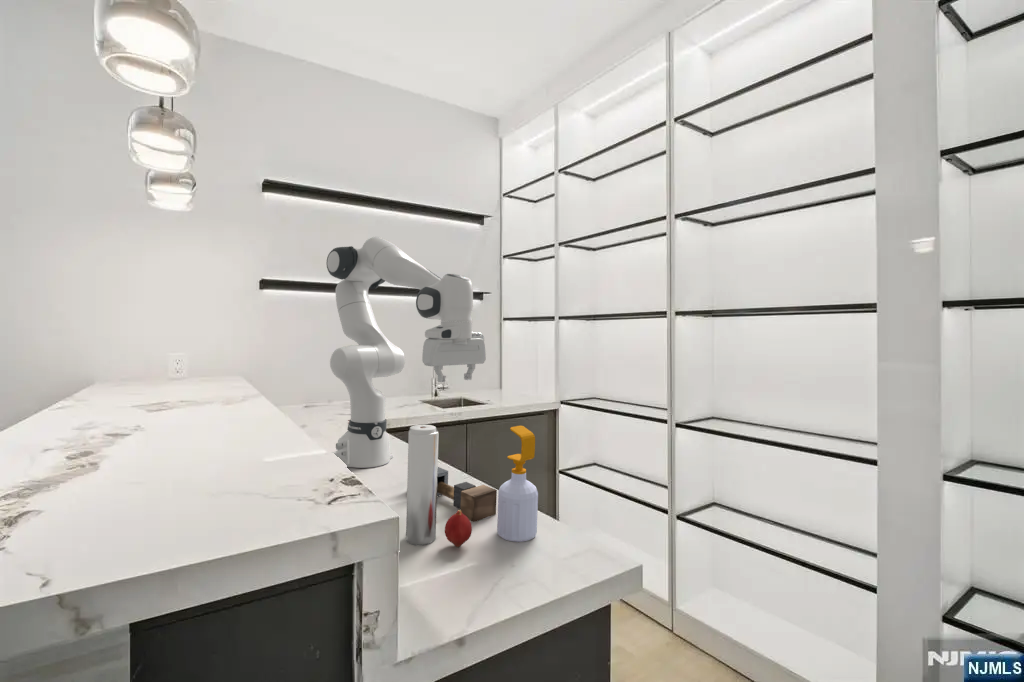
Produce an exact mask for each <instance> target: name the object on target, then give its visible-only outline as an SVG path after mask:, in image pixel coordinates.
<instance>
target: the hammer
mask: <svg viewBox="0 0 1024 682" xmlns="http://www.w3.org/2000/svg"><path fill="white" fill-rule="evenodd" d="M474 487H477V485H475V484H473V483H470V482H468V481H465V482H464V481H463V482H461V483H457V484H454V485H453V486H452V485H450V484H449V483H448V484H446V483H444V482H439V483H438V484H437V492H438V493H440V494H442V495H441V496H444V497H446V498H449V499H451V500H452V501H453V507H455V508H456V509H458V510H461V491H464V490H467V489H470V488H474Z"/></svg>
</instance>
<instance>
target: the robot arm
mask: <svg viewBox="0 0 1024 682" xmlns="http://www.w3.org/2000/svg"><path fill="white" fill-rule="evenodd" d="M326 268H327V271H328V274H329V275H330V276H332V277H333V278H336V279H338V280H341V281H340V282H338V283H337V285H336V287H335V301H336V307H337V313H338V317H339V320H340V324H341V328H342V329H341V330H342V331H343V333H344V335H345V336H346V337H347V338H349V339H351V340H352V341H354V342H355V343H356V344H354V345H352V344H351V345H347V346H343V347H338V348H336V349H335V350H334V351H333V352H332V353H331V356H330V360H329V366H330V370H331V372H332V373H333V375H334V376H335V377H336V378H338V379H339V380H340V381H341V382H342V383H343V384H344V386H345V387H346V389H347V393H348V395H349V402H350V419H348V420H347V429H346V431H345V433H344V434H343V435H342V436H341V437H339V438H338V440H337V442H336V444H335V451H332V452H331V453H334V454H335V455H336V456H337V457H339V458H340V459H341V460H342V461H343V462H344V463H345V464H346V465H347V467H346V468H357V469H360V468H362V469H363V468H365V469H367V468H376V467H380V466H383V465H386V464H388V463H390V460H391V459H392V458H394V454H393V453H391V447H390V434H389V433H388V432H387V426H388V423H387V418H386V405H387V404H386V402H387V399H386V396H385V394H384V393H383V392H382V391H380V390H379V389H377V388H375V387H374V385H373V379H374V378H387V377H391V376H395V375H397V374H399V373H401V372H402V371H403V369H404V368H405V364H406V357H405V353H404V351H403V350H402V348H400V347H399V346H397V345H396V344H394V343H393V342H392V341H390V340H389V339H388V338H387V336H386V335H385V334H384V333H383V331H382V330H381V329H380V327H379V325H378V323H377V319H376V316H375V313H374V311H373V307H372V303H371V301H370V300H371V299H370V297H369V289H372V290H375V289H377V288H378V287H379V286H380V285H383V284H384V283H385V282H387V283H389V284H390V285H394V286H400V287H406V288H413V289H417V290H419V292H418V294H417V295H416V298H415V307H416V310H417V312H418V315H419V316H420V317H422V318H423V319H428V320H440V324H439V325H437V326H433V327H432V328H429V329H426V330H425V331H424V337H425V338H426V339H425V340H424V342H423V346H422V359H421V361H422V363H423V365H424V366H426V367H433V370H434V372H435V373H436V376H437V378H436V379H437V380H436V381H437V383H445V382H446V375H444V374H443V372H442V371H443V370H444V368H443V367H445V366H463V365H466V368H467V370H466V373H464V374H463V380H465V381H472V378H473V373H474V371H475V369H476V365H481V364H484V363H485V362H486V357H487V356H486V355H487V353H486V352H487V351H486V344H485V337H484V335H483V334H482V333H481V332H479V331H476V332H475V331H474V332H473V318H472V311H473V307H474V290H473V288H474V287H473V284H472V279H471V278H469V276H465V275H461V274H455V273H447V274H444V275H443V277H442V278H441V277H440V276H438V275H437V274H436V273H434V272H432V271H431V270H430V269H427V268H426V267H425V266H423V265H422V264H421V263H419V262H417V261H416V260H415V259H413V257H411V256H409V255H408V254H407V253H406V252H405V251H403V250H402V249H401V248H400V247H398V246H397V245H396V244H395V243H393V242H391V241H390V240H387V239H385V238H383V237H380V236H373V237H369V238H367V240H366V241H365V242H364V243H363V245H362V247H361V248H355V247H354V246H353V245H351V246H339V247H334V248H333V249H332V250H331V251H329V253H328V254H327V259H326Z"/></svg>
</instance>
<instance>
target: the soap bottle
mask: <svg viewBox="0 0 1024 682" xmlns="http://www.w3.org/2000/svg"><path fill="white" fill-rule="evenodd" d="M509 430H510V431H511V432H512V433H514V434H515V435H517V437H519V439H520V442H521V449H520V450H521V451H520V453H516V454H511V455H508V456H507V459H508V460H511V461H513V464H514V465H515V467H514V468H511V478H510V479H507V481H505V482H504V483H502V484H501V485H500V487H499V489H498V491H497V493H498V496H497V525H496V526H497V528H496V531H497V532H496V533H497V535H498V536H499V537H500V538H502V539H504V540H506V541H509V542H514V543H515V542H518V543H521V542H527V541H530V540H532V539H534V538H535V537H536V535H537V532H538V531H537V530H538V510H539V509H538V507H539V506H538V505H539V491H538V489H537V487H536V485H534V483H532V482H531V481H529V480H527V469H526V468H524V465H525V464H526V461H530V460H533V459H534V458H535V453H536V436H535V434H534V433H533V431H531V430H530V429H528V428H527V427H525V426H524V425H516V426H511V427H510V428H509Z"/></svg>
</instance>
